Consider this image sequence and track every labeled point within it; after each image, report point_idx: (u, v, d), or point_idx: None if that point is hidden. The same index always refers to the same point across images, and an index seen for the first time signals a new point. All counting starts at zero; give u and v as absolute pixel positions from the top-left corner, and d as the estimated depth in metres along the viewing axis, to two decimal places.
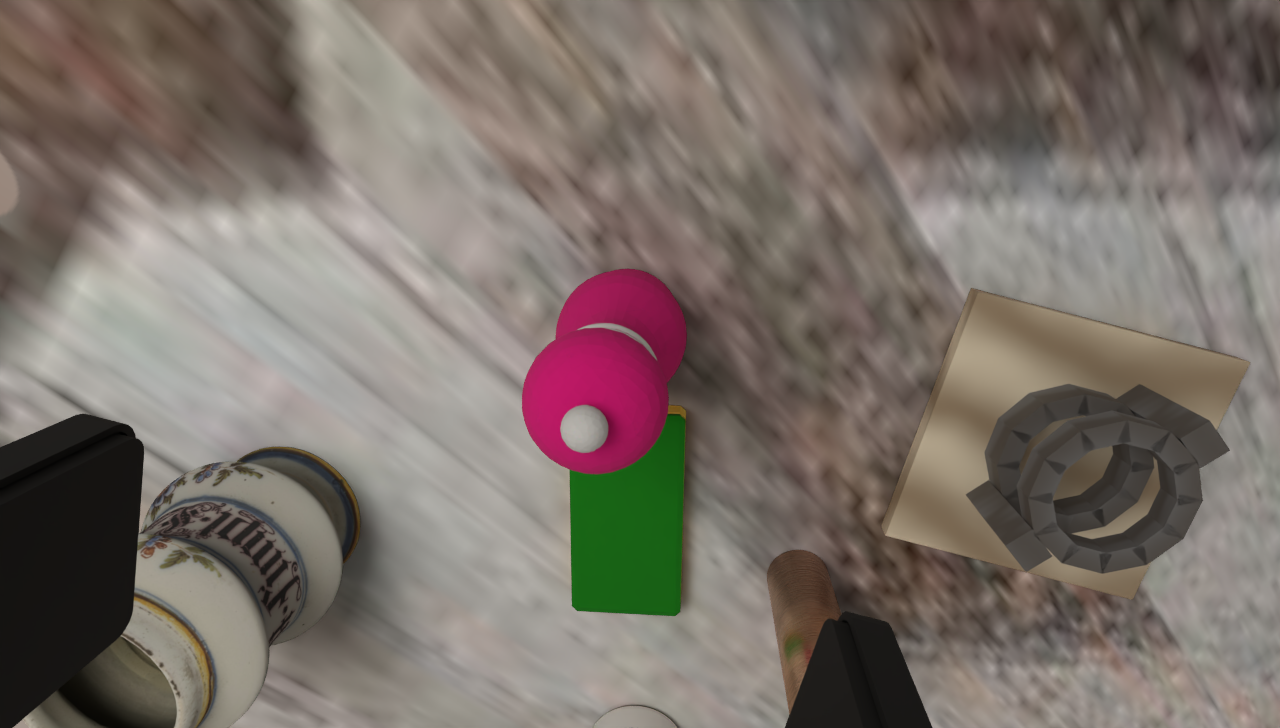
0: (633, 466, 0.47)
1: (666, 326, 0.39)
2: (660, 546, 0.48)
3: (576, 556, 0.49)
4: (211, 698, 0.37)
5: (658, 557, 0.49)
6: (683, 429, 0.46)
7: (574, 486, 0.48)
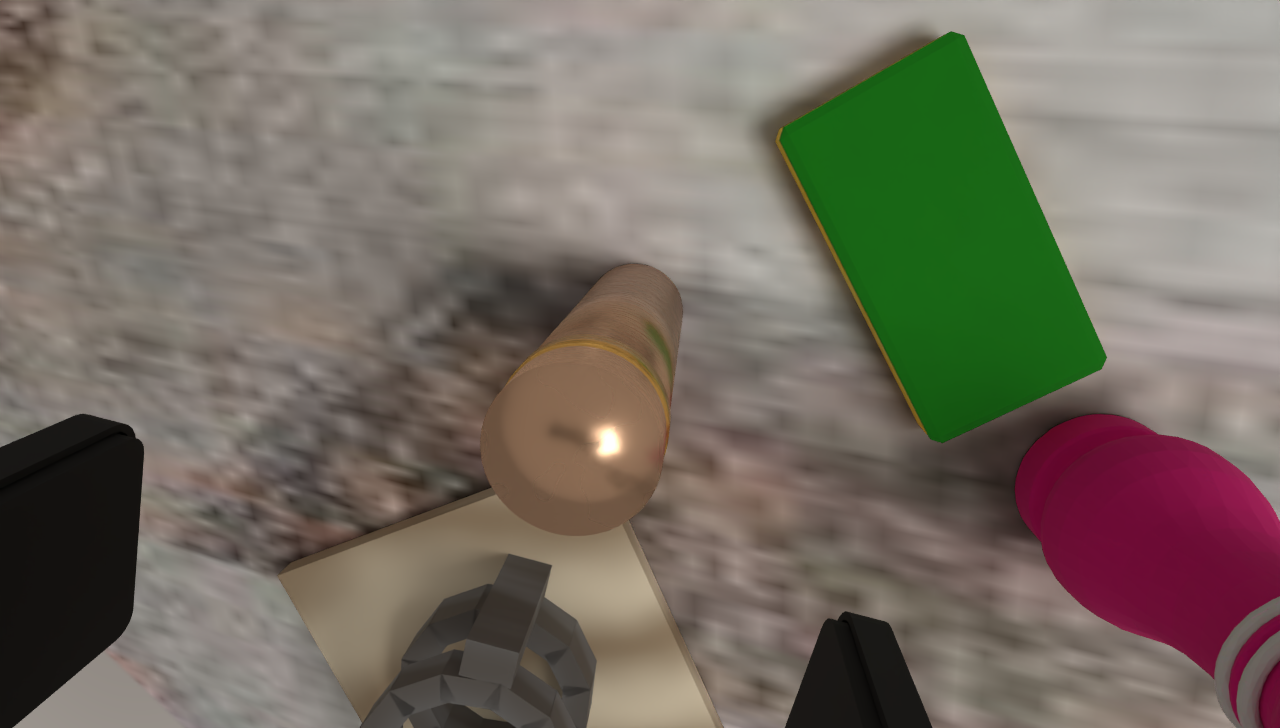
0: (975, 338, 0.29)
1: (1139, 634, 0.26)
2: (871, 236, 0.28)
3: (998, 137, 0.27)
4: None
5: (864, 215, 0.28)
6: (928, 428, 0.30)
7: (1053, 256, 0.28)
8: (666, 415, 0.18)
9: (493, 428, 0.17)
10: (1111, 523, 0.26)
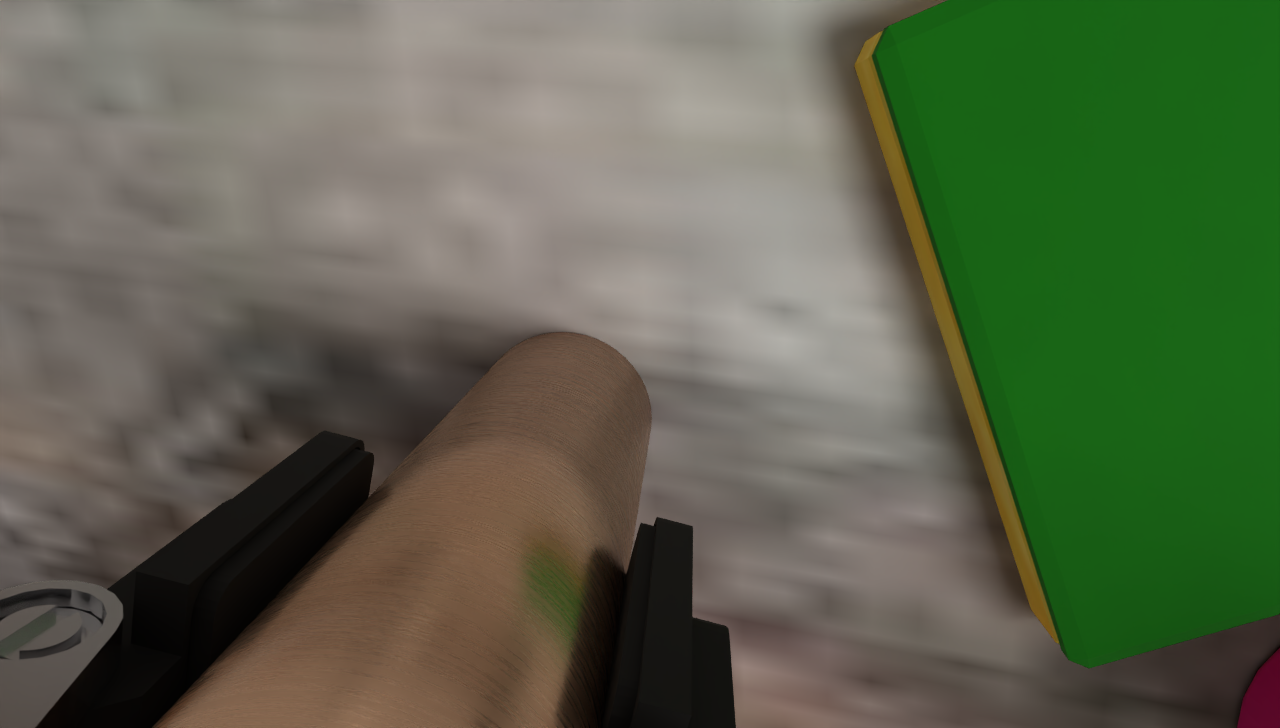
0: (1191, 493, 0.15)
1: None
2: (1028, 273, 0.14)
3: None
4: None
5: (1023, 231, 0.14)
6: (1068, 640, 0.16)
7: None
8: None
9: None
10: None
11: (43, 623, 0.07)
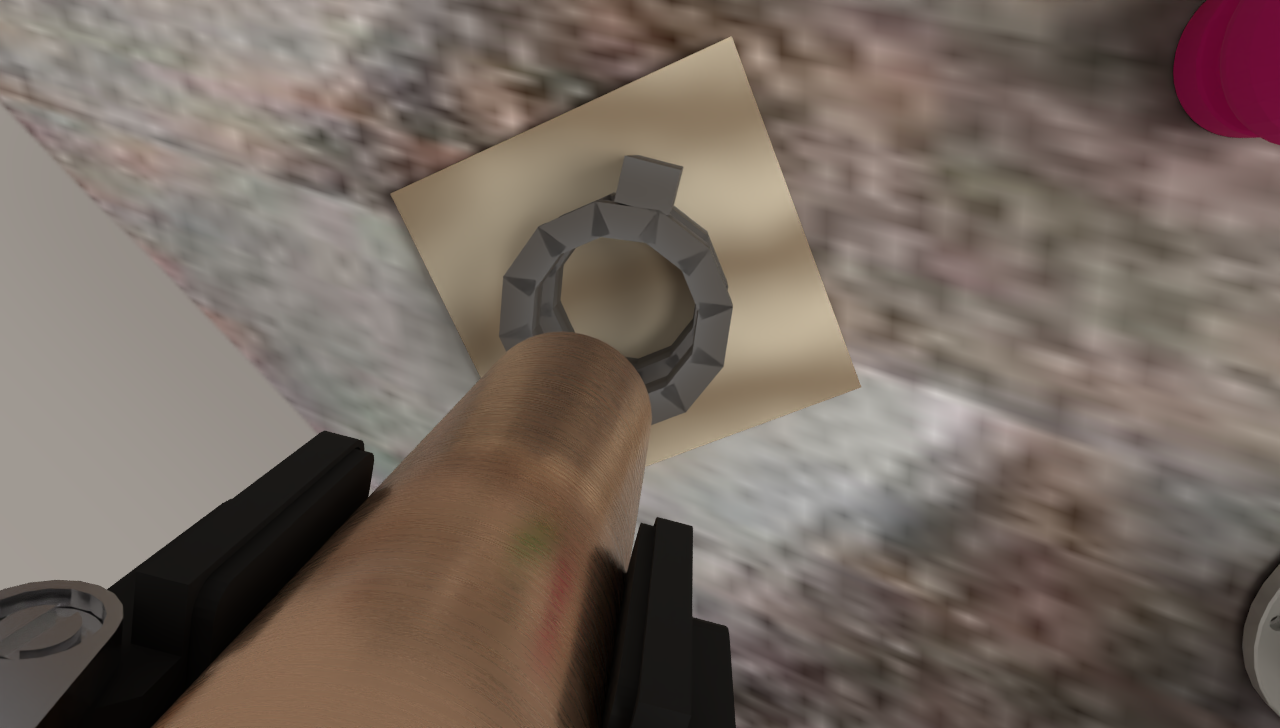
0: None
1: None
2: None
3: None
4: None
5: None
6: None
7: None
8: None
9: None
10: None
11: (43, 623, 0.07)
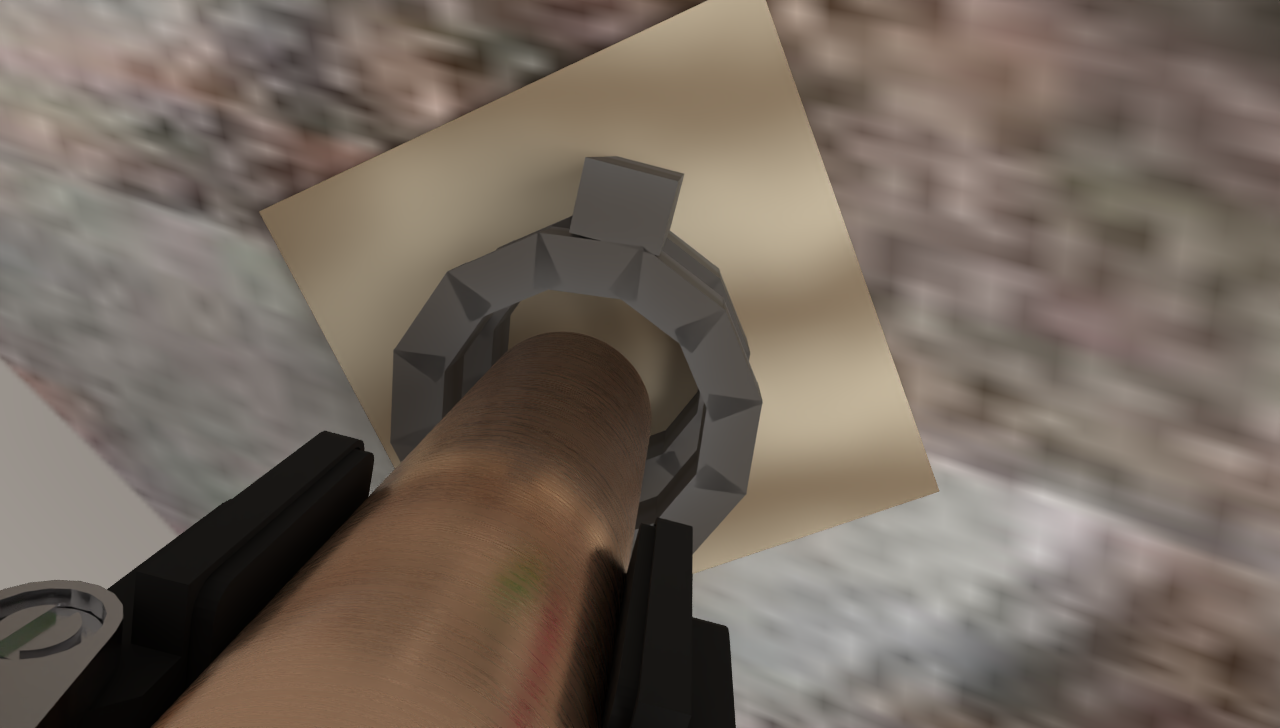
0: None
1: None
2: None
3: None
4: None
5: None
6: None
7: None
8: None
9: None
10: None
11: (44, 623, 0.07)
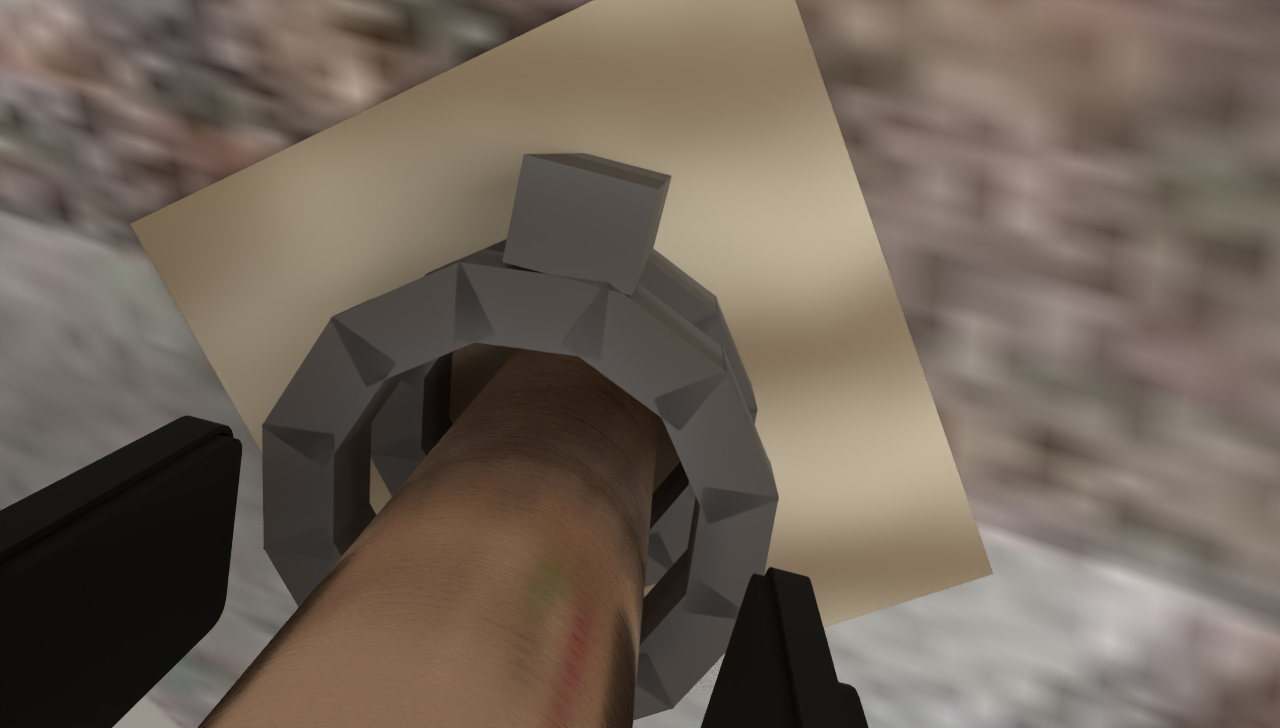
0: None
1: None
2: None
3: None
4: None
5: None
6: None
7: None
8: None
9: None
10: None
11: None
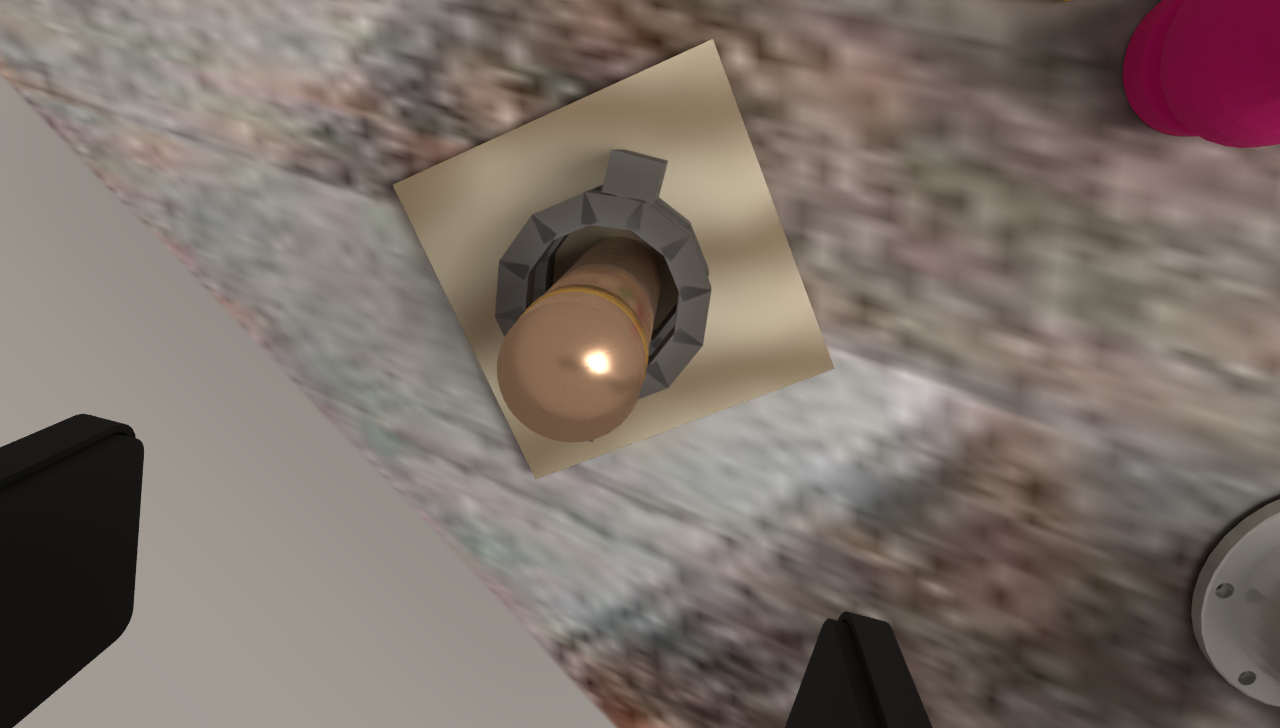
0: None
1: (1269, 115, 0.27)
2: None
3: None
4: None
5: None
6: None
7: None
8: (645, 348, 0.22)
9: (507, 355, 0.21)
10: None
11: None
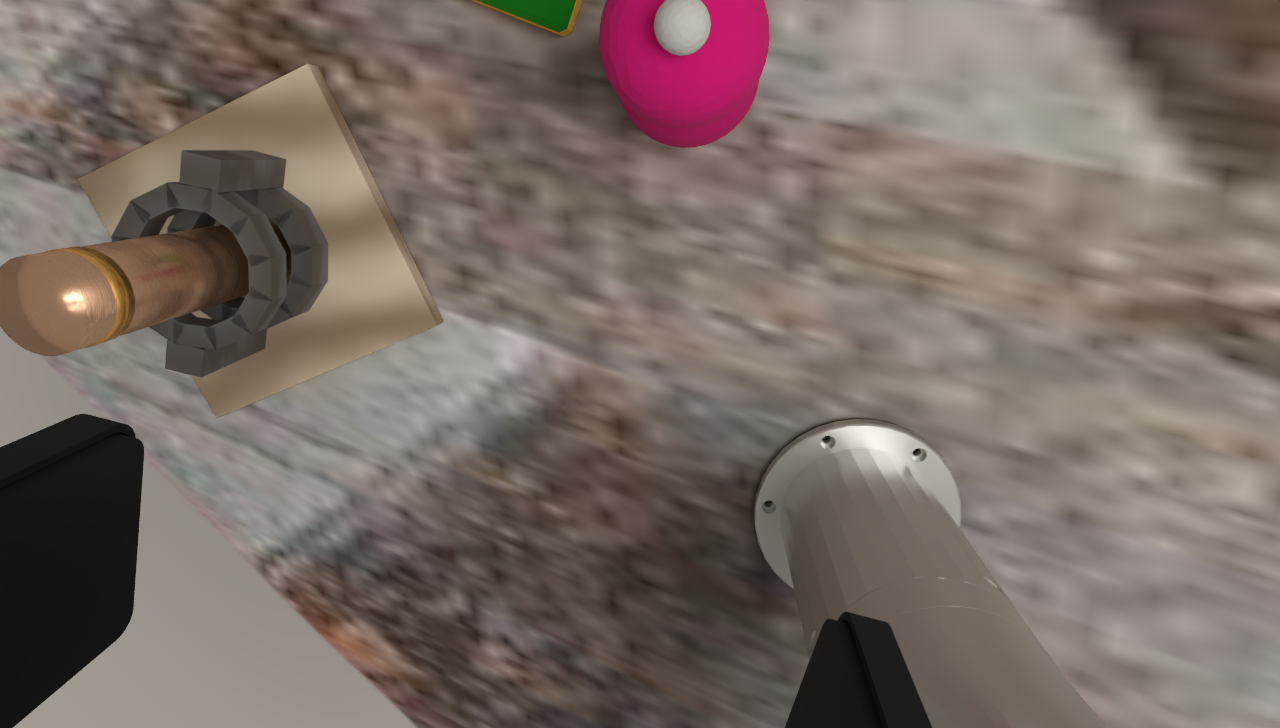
0: None
1: None
2: None
3: None
4: None
5: None
6: None
7: None
8: (114, 290, 0.31)
9: None
10: None
11: None
